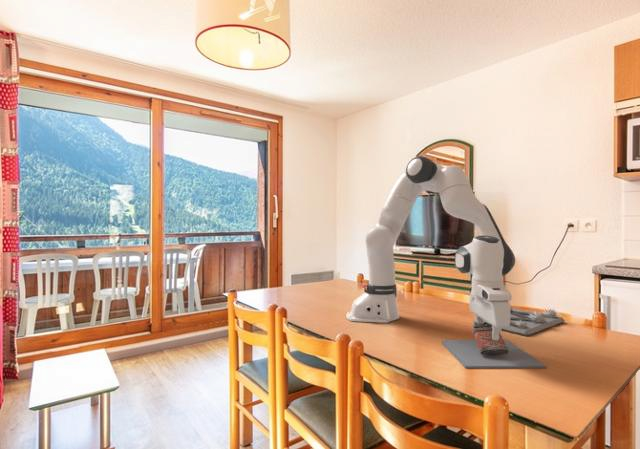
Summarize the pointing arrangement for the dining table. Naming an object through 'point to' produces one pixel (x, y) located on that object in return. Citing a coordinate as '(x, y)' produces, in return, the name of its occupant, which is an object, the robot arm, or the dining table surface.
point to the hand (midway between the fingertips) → (487, 334)
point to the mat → (490, 356)
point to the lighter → (488, 340)
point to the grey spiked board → (530, 321)
